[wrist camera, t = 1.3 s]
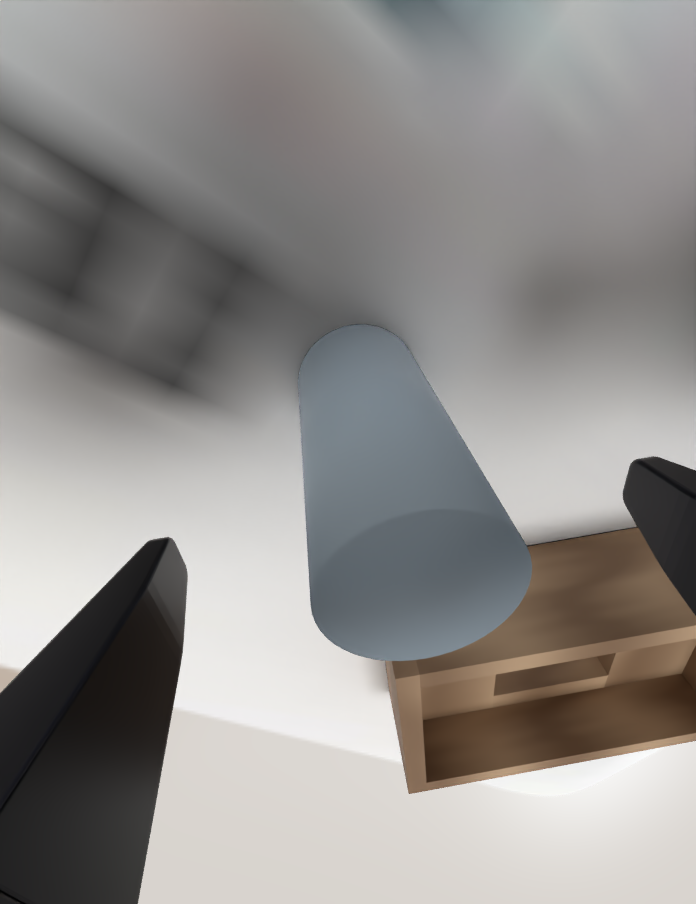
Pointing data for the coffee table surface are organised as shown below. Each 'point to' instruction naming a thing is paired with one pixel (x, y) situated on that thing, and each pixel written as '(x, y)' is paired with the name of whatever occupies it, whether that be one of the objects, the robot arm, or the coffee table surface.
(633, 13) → the coffee table surface
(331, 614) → the peg
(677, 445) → the coffee table surface
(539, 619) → the caddy
